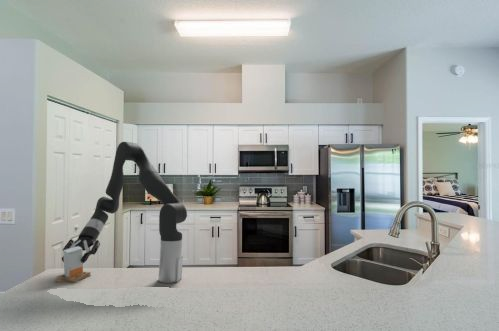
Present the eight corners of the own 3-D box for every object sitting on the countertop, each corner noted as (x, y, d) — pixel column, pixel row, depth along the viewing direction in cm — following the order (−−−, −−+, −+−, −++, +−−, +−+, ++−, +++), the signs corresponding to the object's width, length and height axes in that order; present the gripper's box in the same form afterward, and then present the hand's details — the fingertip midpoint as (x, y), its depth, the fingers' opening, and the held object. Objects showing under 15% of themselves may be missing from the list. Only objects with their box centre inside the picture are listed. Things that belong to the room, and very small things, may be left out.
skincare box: (68, 280, 113) (66, 252, 112) (64, 276, 115) (62, 250, 114) (84, 274, 118) (82, 248, 116) (80, 271, 120) (78, 245, 119)
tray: (90, 276, 120) (90, 272, 121) (76, 282, 111) (76, 278, 112) (71, 275, 121) (71, 271, 121) (55, 281, 112) (55, 277, 112)
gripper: (74, 225, 126) (52, 256, 114) (103, 226, 125) (85, 257, 113) (80, 235, 131) (61, 265, 118) (109, 236, 130) (92, 266, 118)
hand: (72, 261), depth 116 cm, fingers open, 8 cm apart
